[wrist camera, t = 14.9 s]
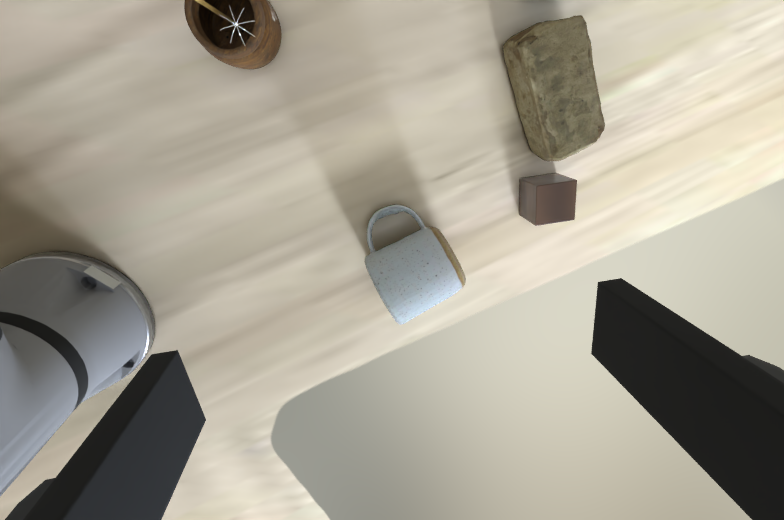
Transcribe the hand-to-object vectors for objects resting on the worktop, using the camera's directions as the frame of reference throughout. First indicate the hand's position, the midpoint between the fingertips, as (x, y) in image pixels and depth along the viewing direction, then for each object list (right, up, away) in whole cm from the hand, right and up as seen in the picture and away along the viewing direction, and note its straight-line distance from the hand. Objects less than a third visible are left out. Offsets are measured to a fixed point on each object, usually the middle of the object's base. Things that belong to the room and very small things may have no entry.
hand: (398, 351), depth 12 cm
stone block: (+14, +19, +25) cm, 35 cm away
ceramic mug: (+1, +4, +30) cm, 30 cm away
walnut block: (+15, +10, +29) cm, 34 cm away
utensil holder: (-13, +22, +21) cm, 33 cm away
